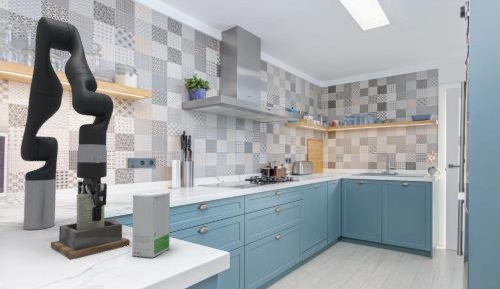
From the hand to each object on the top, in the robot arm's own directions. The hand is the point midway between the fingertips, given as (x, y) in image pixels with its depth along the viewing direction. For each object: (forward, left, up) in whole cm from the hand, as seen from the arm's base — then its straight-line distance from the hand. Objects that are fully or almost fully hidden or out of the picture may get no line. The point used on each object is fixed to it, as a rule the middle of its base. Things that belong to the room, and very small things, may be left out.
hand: (91, 219), depth 82 cm
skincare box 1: (0, 0, -5) cm, 5 cm away
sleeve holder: (0, 0, -8) cm, 8 cm away
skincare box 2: (+18, +8, -8) cm, 21 cm away
